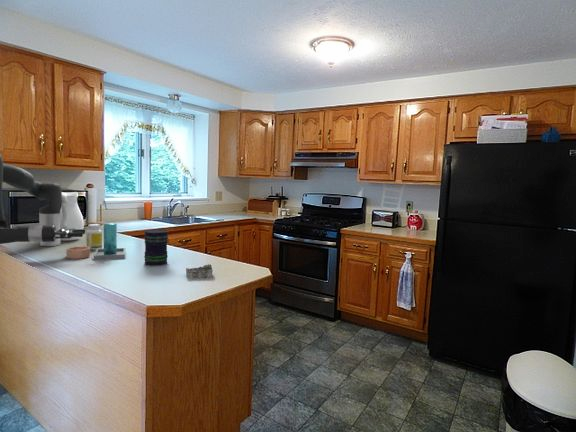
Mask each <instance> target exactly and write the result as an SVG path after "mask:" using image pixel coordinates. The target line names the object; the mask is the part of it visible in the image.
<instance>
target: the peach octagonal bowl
mask: <svg viewBox="0 0 576 432" xmlns="http://www.w3.org/2000/svg"><path fill="white" fill-rule="evenodd" d="M65 253H66V258H67V259H71V260H72V259H74V260H75V259H77V260H78V259H85V258H89V257H90V256H91V250H90V247H87V245H86V246H83V245H81V246H80V245H79V246H71V247H66V251H65Z"/></svg>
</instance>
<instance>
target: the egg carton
mask: <svg viewBox="0 0 576 432" xmlns="http://www.w3.org/2000/svg"><path fill="white" fill-rule="evenodd" d="M213 272H214V270H213V267H212V264H205V265H204V264H203V266H199V267H191V268H189V267H188V268H186V269H185V275H186V276H185V277H186V278H187V279H193V278H198V279H201V278H206V279H207V278H211V277H213Z"/></svg>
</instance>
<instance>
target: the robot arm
mask: <svg viewBox="0 0 576 432" xmlns="http://www.w3.org/2000/svg"><path fill="white" fill-rule="evenodd" d="M3 183H5V184H6V185H8V186H10V187H13V188H15V189H17V190H20V191H23V192H25V193H28V194H30V195H32V197H35V198H37V199H38V200H41V201H48V203H47V205H45V206H42V207H40V208H39V210H38V212H39V214H38V215H39V217H38V219H39V225H20V226H19V225H18V226H14V227H9V225H8V222H7V220H6V218H5V210H4V204H3ZM62 192H63V191H62V187H61V186H60V184H58V183H56V182H55V183H53V182H39V181H37V180H35V177H34V175H33V174H32V173H31V172H29V171H27V170H26V169H23V167H19V166H15V165H13V164H8V163H4V160H3V157H2V155H1V153H0V245H3V244H11V243H18V242H19V243H26V242H27V243H28V242H29V243H30V242H31V243H32V242H33V243H39V246H41V247H54V246H55V247H57V246H60V245H62V244H61V243H62V240H61V238H72V237H79V238H82V237H83V236H84V235H85V234H86V229H84V228H83V229H75V228H72V229H69V228H68V229H63V228H61V229H60V209H61V200H62ZM71 231H72V232H71ZM65 236H66V237H65Z"/></svg>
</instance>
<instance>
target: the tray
mask: <svg viewBox="0 0 576 432" xmlns="http://www.w3.org/2000/svg"><path fill="white" fill-rule="evenodd" d="M102 259H103V260H119V259H120V260H121V259H123V260H124V259H126V247H118V248H117V254H113V255H104V248H101V249H96V250H95V251H94V253H93V261H97V260H100V261H101V260H102Z"/></svg>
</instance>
